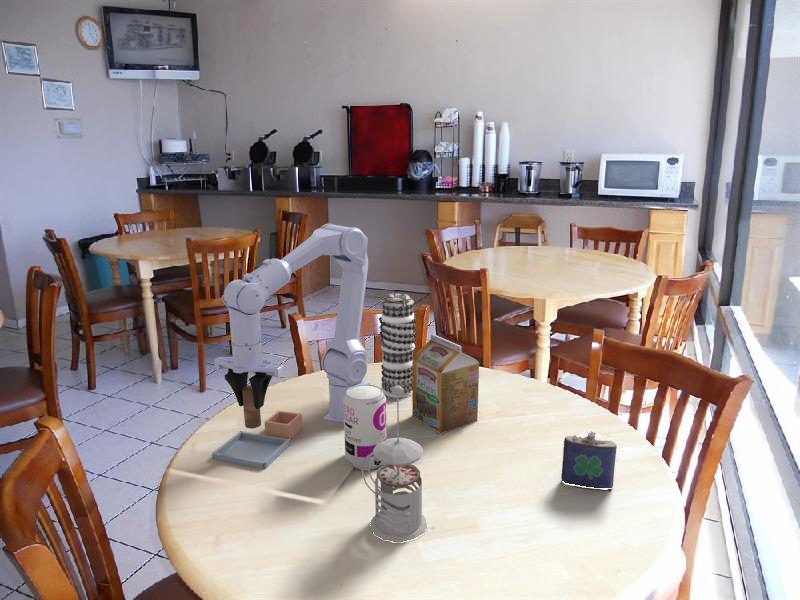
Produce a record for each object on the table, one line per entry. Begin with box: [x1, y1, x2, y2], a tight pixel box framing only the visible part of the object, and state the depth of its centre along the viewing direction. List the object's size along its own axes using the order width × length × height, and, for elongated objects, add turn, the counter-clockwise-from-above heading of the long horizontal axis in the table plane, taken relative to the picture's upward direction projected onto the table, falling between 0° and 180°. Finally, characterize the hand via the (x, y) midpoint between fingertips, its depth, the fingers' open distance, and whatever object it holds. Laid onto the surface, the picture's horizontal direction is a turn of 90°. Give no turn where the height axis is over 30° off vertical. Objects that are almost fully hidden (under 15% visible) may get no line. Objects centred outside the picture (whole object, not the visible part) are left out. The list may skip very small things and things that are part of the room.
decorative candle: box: [378, 292, 418, 399], centre depth 151 cm, size 9×9×25 cm
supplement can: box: [343, 384, 388, 471], centre depth 120 cm, size 8×8×15 cm
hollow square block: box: [264, 410, 303, 441], centre depth 132 cm, size 6×6×4 cm
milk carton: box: [411, 333, 480, 434], centre depth 137 cm, size 11×11×19 cm
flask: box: [561, 431, 618, 489], centre depth 111 cm, size 9×3×11 cm, turn 74°
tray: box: [211, 430, 291, 470], centre depth 124 cm, size 12×10×2 cm
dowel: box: [242, 384, 262, 430], centre depth 122 cm, size 3×3×8 cm
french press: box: [361, 385, 428, 542], centre depth 99 cm, size 10×12×25 cm
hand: (251, 405), depth 122 cm, fingers closed on dowel, 3 cm apart
